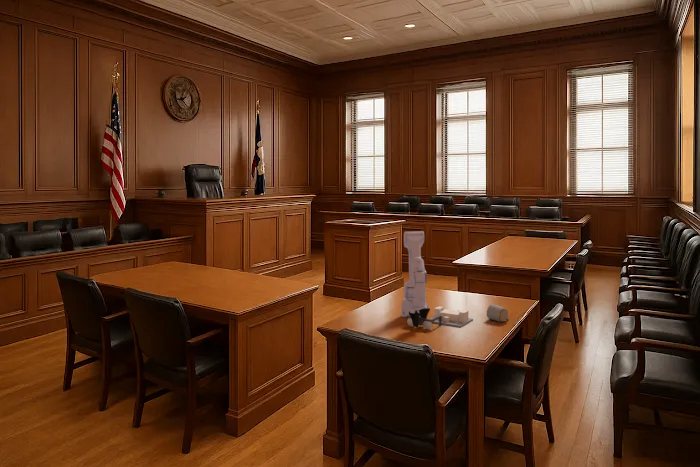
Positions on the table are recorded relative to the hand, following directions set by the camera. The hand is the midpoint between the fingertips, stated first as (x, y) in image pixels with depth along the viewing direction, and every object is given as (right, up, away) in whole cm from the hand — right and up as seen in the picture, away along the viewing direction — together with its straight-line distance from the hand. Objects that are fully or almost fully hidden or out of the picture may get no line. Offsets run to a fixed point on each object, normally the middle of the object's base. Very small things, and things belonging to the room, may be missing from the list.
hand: (419, 324), depth 242 cm
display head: (+17, 0, +11) cm, 20 cm away
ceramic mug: (+41, 0, +12) cm, 43 cm away
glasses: (+3, -1, +4) cm, 5 cm away
